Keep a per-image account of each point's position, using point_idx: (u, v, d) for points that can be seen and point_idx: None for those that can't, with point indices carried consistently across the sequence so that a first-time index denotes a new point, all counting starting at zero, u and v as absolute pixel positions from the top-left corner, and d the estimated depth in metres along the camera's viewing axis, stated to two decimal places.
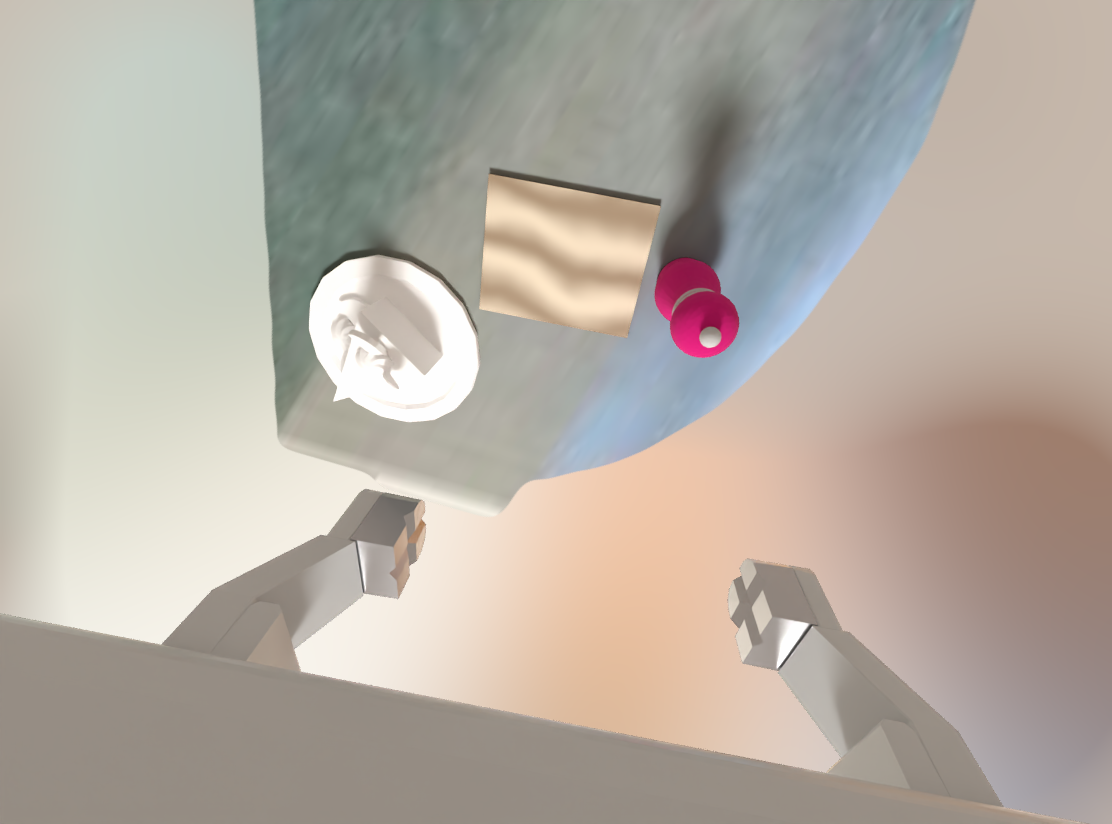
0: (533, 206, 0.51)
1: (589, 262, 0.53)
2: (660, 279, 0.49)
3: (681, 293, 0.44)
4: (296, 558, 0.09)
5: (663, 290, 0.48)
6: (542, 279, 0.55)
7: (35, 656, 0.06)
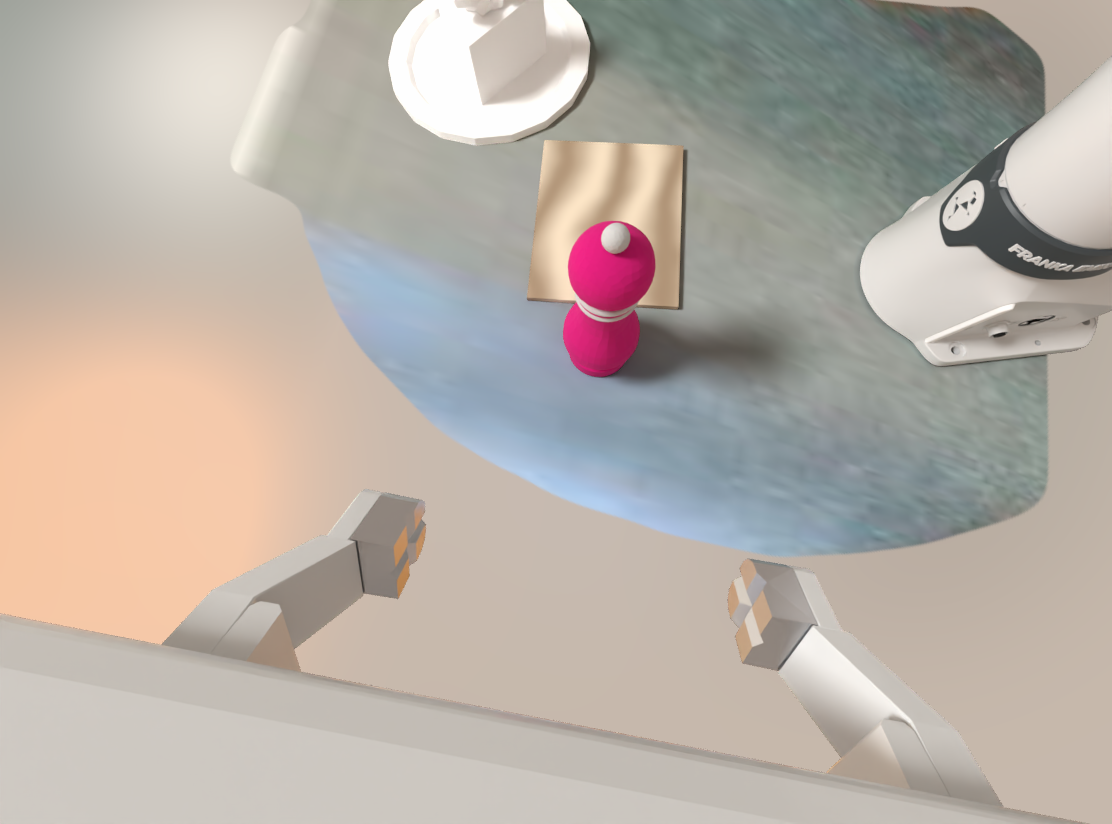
0: (659, 186, 0.48)
1: None
2: None
3: None
4: (296, 558, 0.09)
5: None
6: (585, 200, 0.48)
7: (35, 656, 0.06)
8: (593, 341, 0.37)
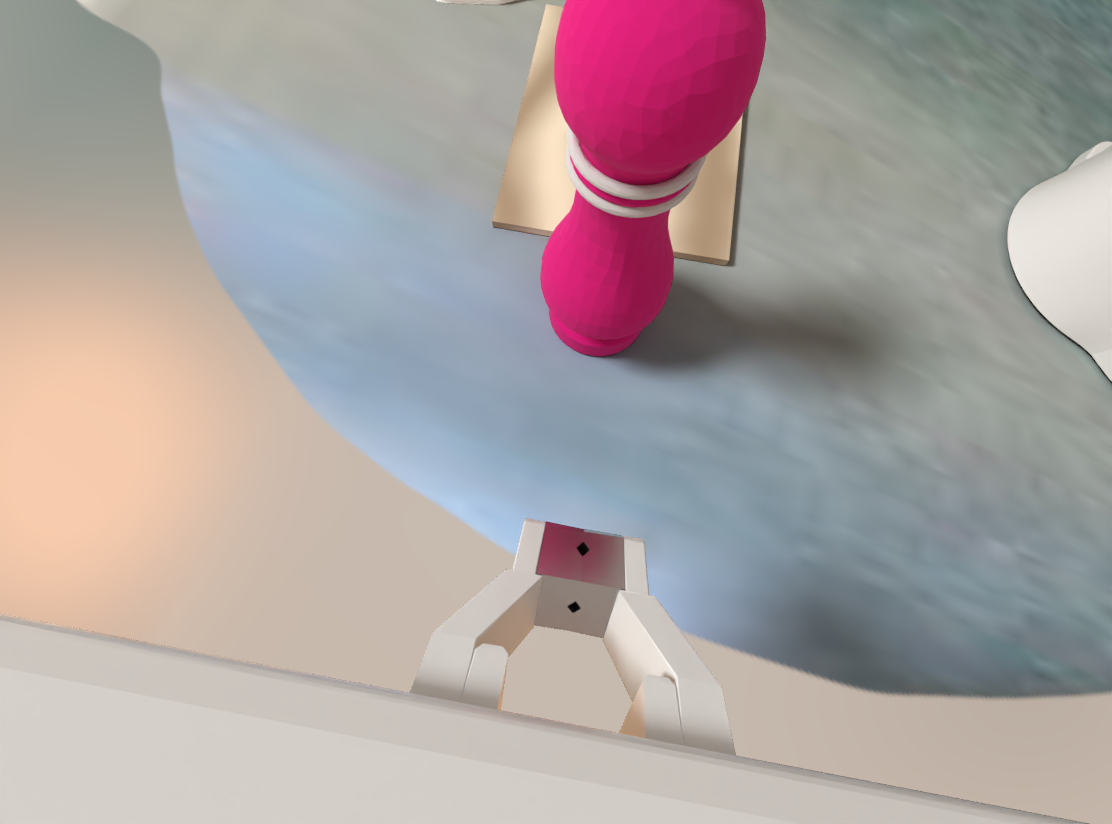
0: None
1: None
2: None
3: None
4: (496, 595, 0.08)
5: None
6: None
7: (35, 656, 0.06)
8: (593, 276, 0.20)
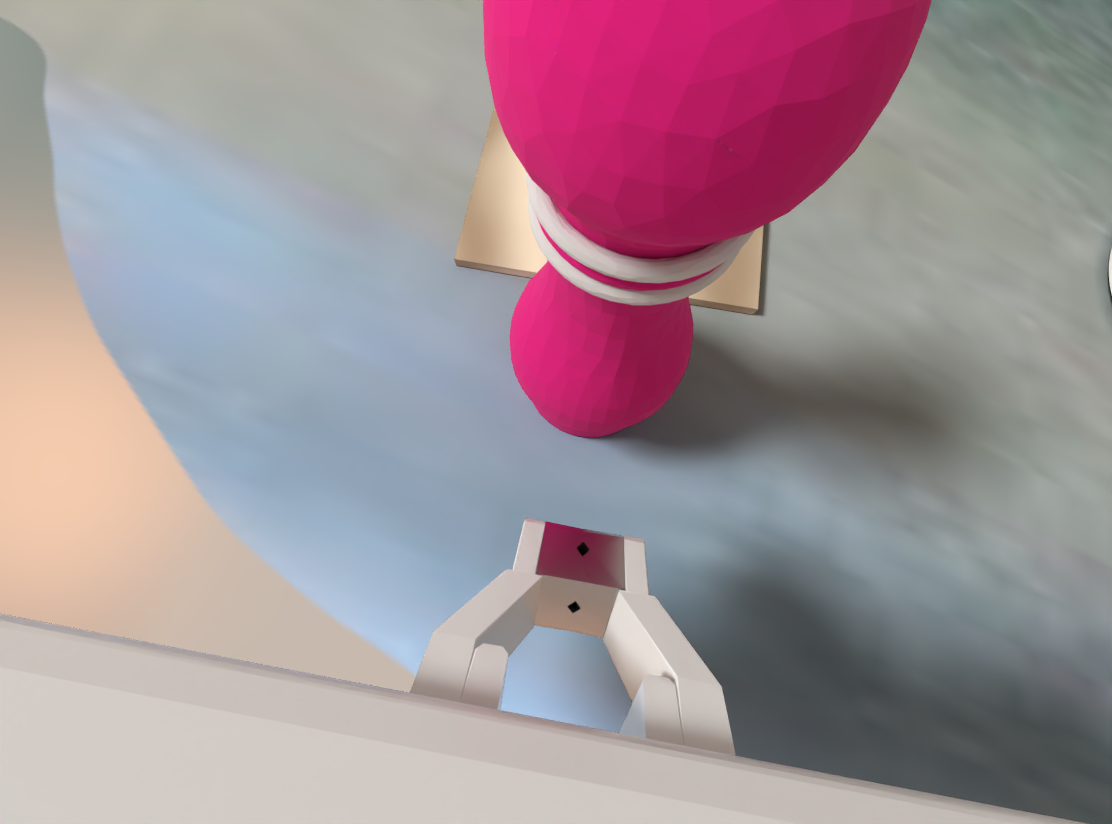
0: None
1: None
2: None
3: None
4: (496, 595, 0.08)
5: None
6: None
7: (35, 656, 0.06)
8: (578, 364, 0.14)
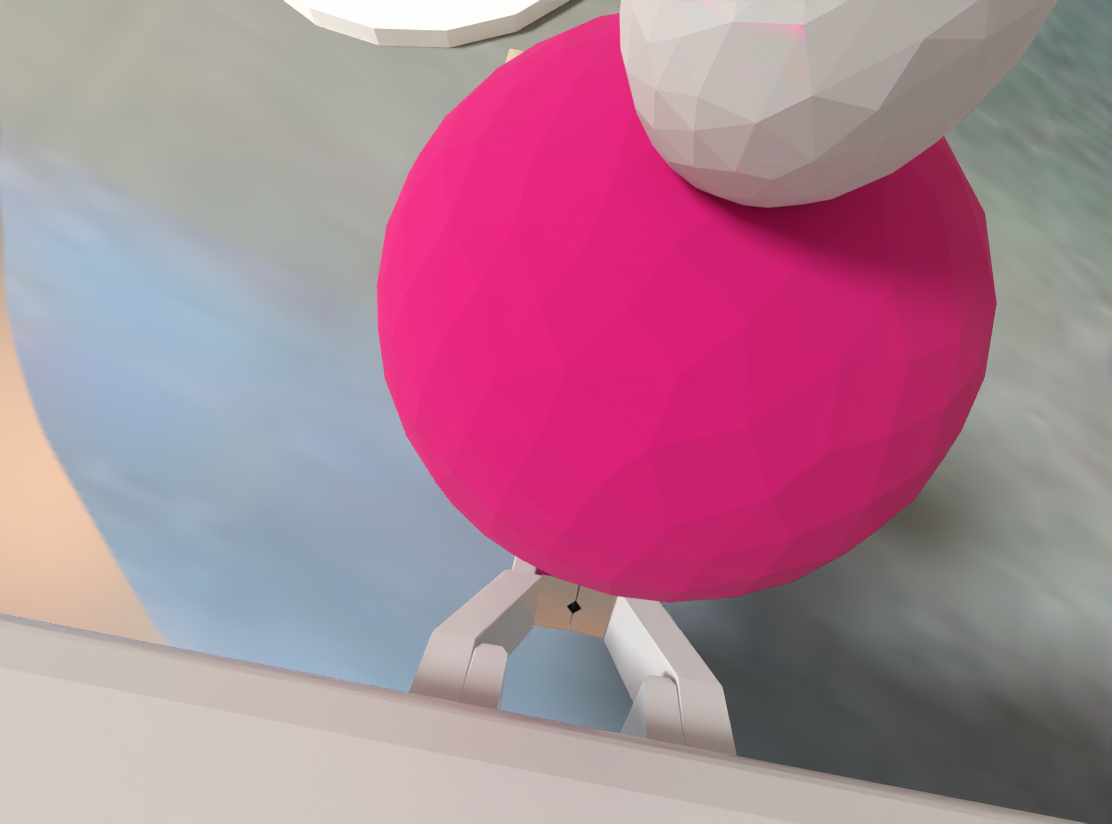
0: None
1: None
2: None
3: None
4: (495, 595, 0.08)
5: None
6: None
7: (35, 656, 0.06)
8: None
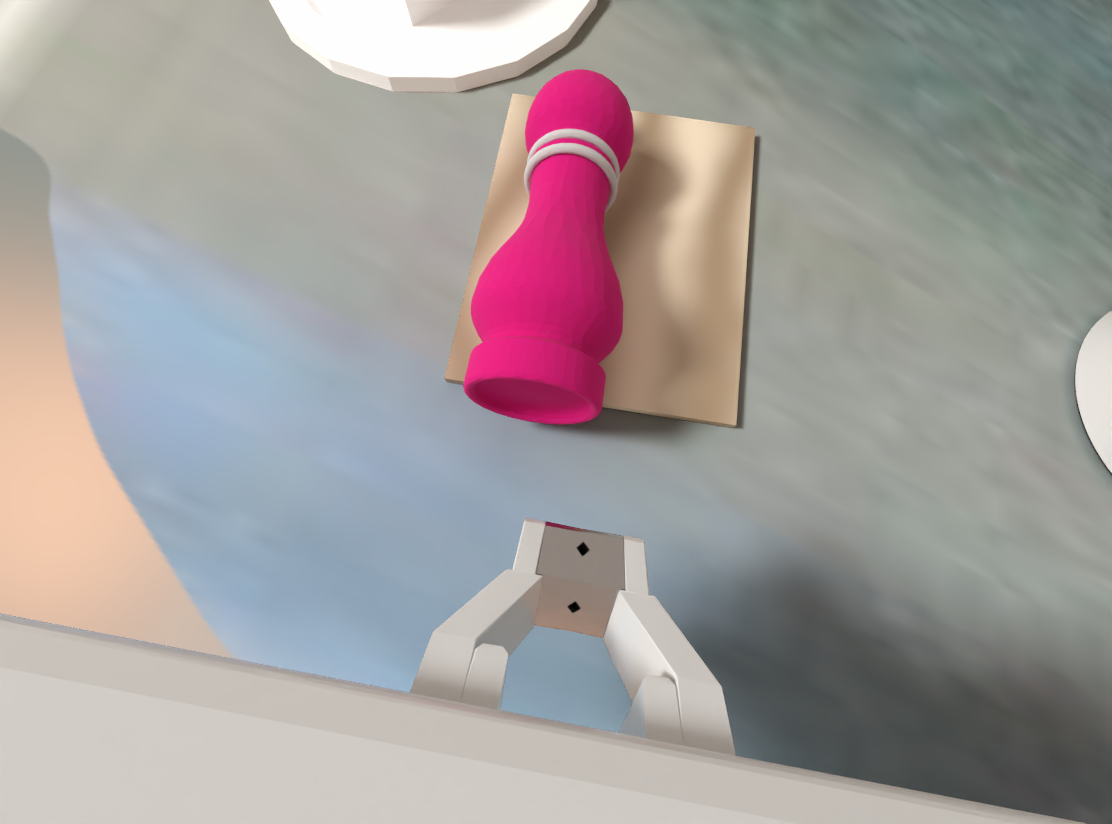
0: (711, 193, 0.27)
1: None
2: None
3: None
4: (496, 595, 0.08)
5: None
6: None
7: (35, 656, 0.06)
8: None
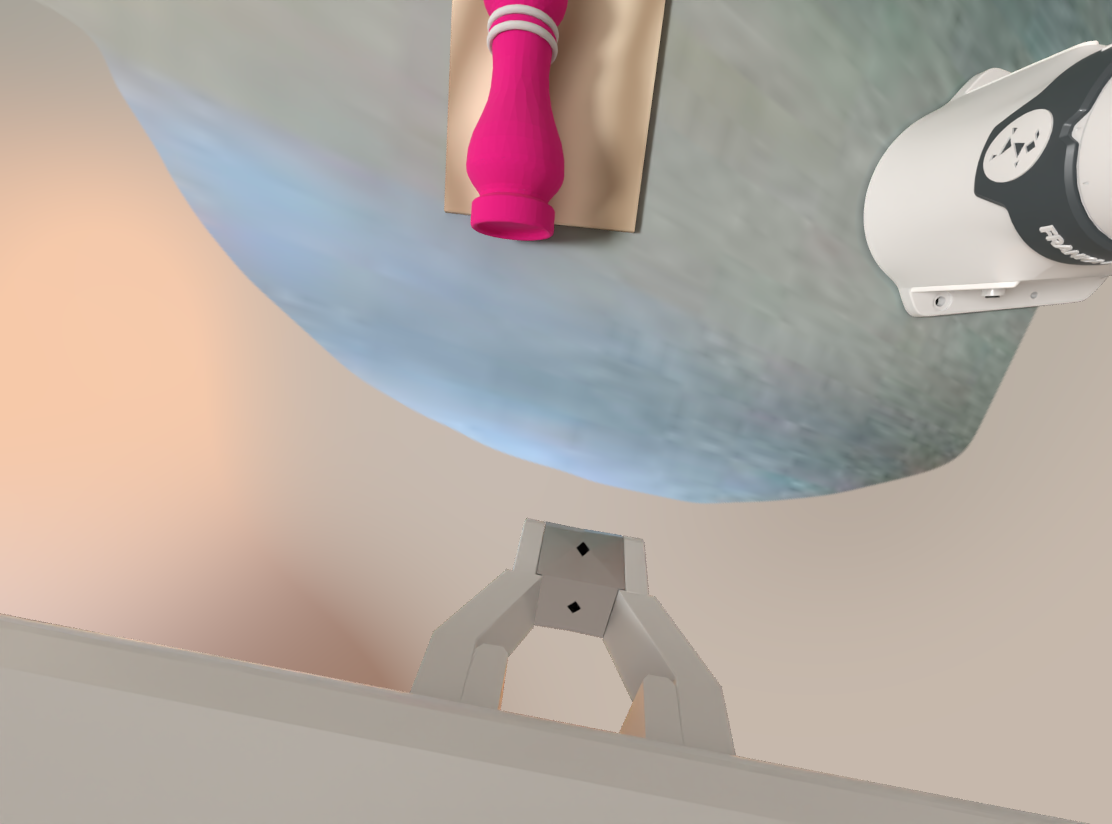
0: (629, 26, 0.33)
1: None
2: None
3: None
4: (496, 595, 0.08)
5: None
6: None
7: (35, 656, 0.06)
8: (491, 101, 0.30)
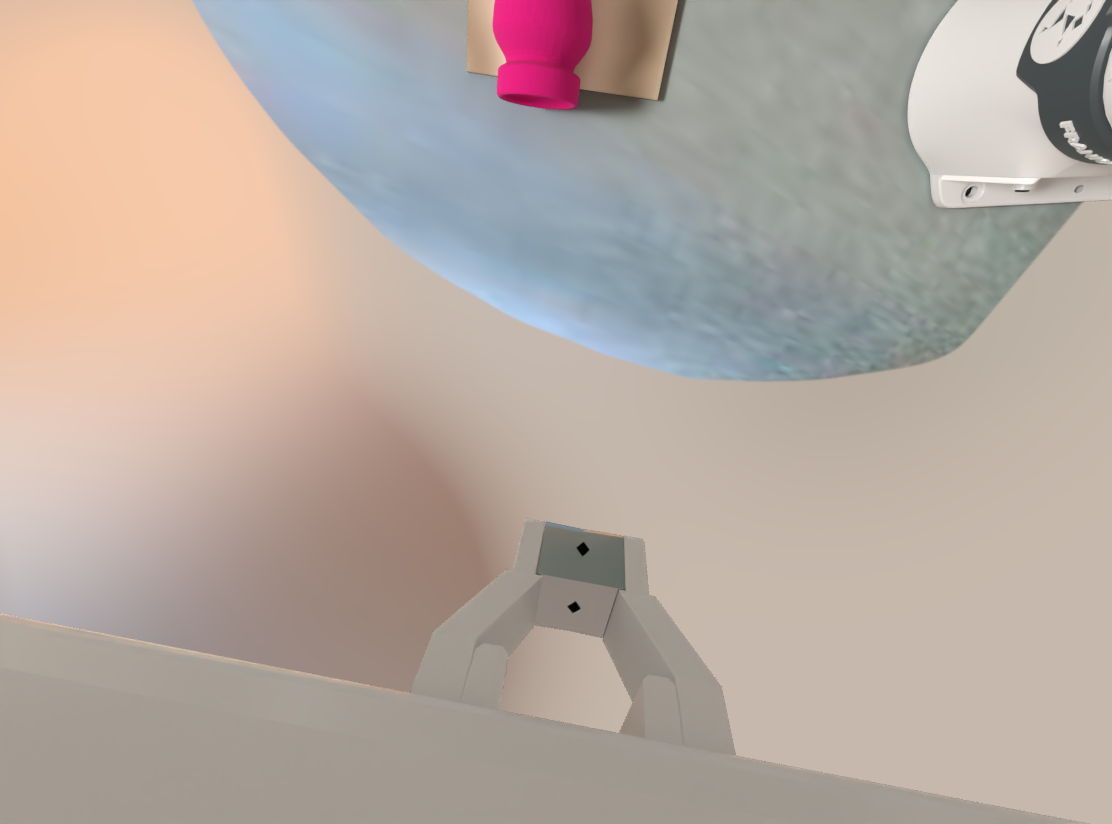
0: None
1: None
2: None
3: None
4: (496, 595, 0.08)
5: None
6: None
7: (35, 656, 0.06)
8: None
